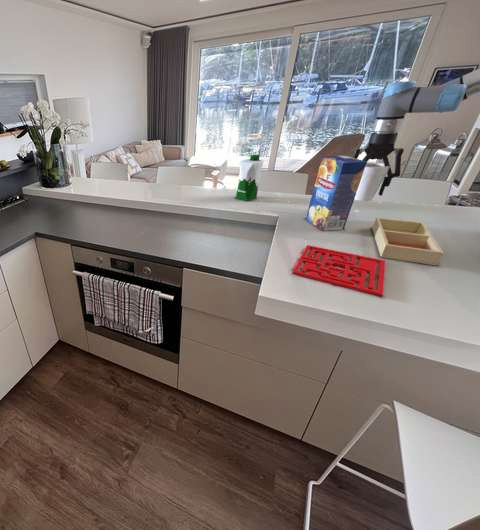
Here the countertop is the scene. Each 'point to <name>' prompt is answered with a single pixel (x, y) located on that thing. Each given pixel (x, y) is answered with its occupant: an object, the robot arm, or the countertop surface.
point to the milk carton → (249, 178)
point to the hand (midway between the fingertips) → (363, 193)
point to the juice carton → (335, 191)
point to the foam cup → (371, 181)
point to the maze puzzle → (364, 266)
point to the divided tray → (406, 241)
